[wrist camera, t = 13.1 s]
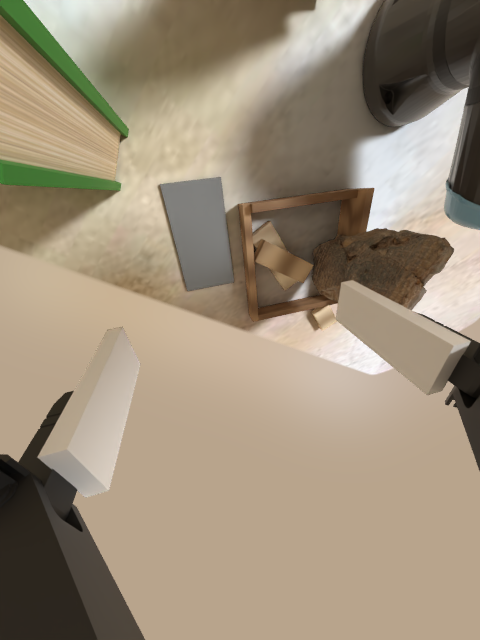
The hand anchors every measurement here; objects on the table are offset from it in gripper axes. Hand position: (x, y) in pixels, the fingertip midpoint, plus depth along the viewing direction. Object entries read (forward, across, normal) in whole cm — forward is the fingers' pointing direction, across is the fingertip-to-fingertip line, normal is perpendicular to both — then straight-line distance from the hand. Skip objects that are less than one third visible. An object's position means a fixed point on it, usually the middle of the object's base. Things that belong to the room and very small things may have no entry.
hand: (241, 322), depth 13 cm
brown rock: (+28, +21, -6) cm, 36 cm away
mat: (+28, 0, 0) cm, 28 cm away
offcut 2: (+27, +14, -6) cm, 31 cm away
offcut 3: (+29, +24, -21) cm, 43 cm away
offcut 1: (+29, +13, -5) cm, 32 cm away
